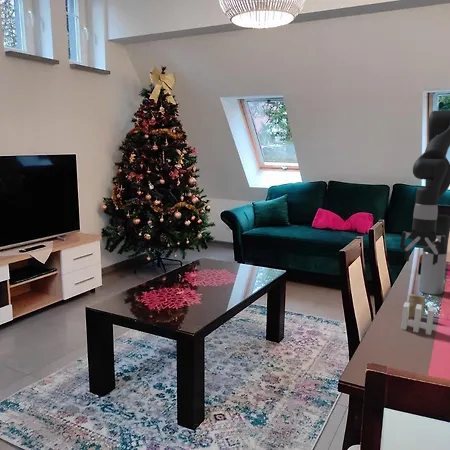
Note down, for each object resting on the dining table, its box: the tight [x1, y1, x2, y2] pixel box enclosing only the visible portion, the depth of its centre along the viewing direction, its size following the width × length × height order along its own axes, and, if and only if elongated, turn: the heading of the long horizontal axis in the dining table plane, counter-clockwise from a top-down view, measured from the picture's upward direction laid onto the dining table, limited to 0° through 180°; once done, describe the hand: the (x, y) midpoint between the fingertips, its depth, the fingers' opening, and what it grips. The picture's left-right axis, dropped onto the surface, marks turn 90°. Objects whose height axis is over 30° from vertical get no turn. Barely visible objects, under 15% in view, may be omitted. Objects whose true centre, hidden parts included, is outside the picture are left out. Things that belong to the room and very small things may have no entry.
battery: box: [417, 253, 423, 275], centre depth 220 cm, size 4×7×10 cm, turn 146°
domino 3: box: [412, 304, 422, 333], centre depth 150 cm, size 5×2×8 cm, turn 152°
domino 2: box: [408, 293, 426, 320], centre depth 162 cm, size 5×2×8 cm, turn 62°
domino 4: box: [425, 305, 435, 336], centre depth 149 cm, size 5×2×8 cm, turn 152°
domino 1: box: [400, 301, 410, 331], centre depth 152 cm, size 5×2×8 cm, turn 152°
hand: (420, 262), depth 159 cm, fingers open, 8 cm apart
